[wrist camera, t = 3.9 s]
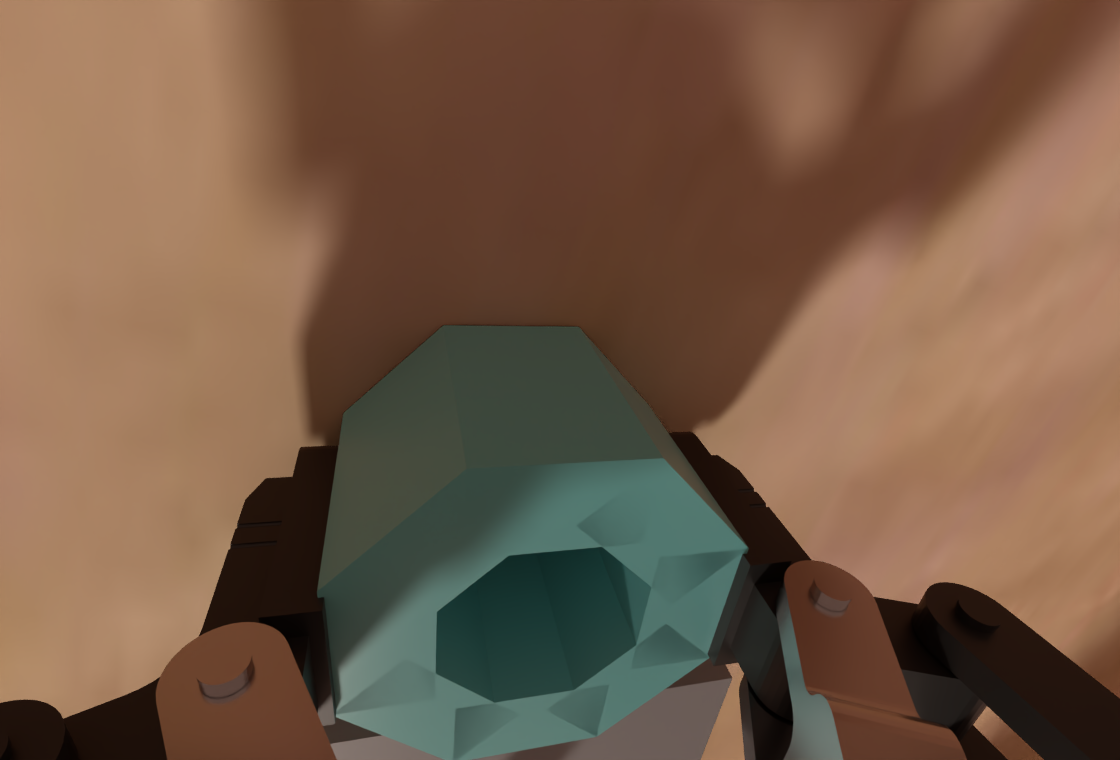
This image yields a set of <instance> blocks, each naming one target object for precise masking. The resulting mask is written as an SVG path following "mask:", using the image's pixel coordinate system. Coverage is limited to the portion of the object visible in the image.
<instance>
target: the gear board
mask: <svg viewBox="0 0 1120 760" xmlns="http://www.w3.org/2000/svg"><path fill="white" fill-rule="evenodd" d="M731 680H732V676H731V675H730V673H729V671H728V669H727V667H726V665H719V666H713V664H712V662H711V660H710V658H709V659H707V660H706V661H704V662H703V663H702V664H700V665H699V666H697V667H696V668H694V669H693V670H692V671H690V672H689V673H687V674H686V675H684V676H683V677H682V678H680V679H679V680H677V681H676V682H674V683H673V684H672V685H670V686H669V687H667V688H666V689H664V690H663V691H662V692H660V693H659V694H657V695H656V696H654V697H653V698H652V699H650V700H649V701H647V702H646V703H644V704H643V705H641V706H640V707H639V708H637V709H636V710H634V711H633V712H631V713H630V714H629V715H627V716H626V717H624V718H623V719H621V720H620V721H619V722H617V723H616V724H614V725H613V726H611V727H610V728H609V729H607V730H606V731H604V732H603V733H601V734H600V735H599V736H597V737H593V738H588V739H582V740H577V741H571V742H566V743H560V744H555V745H549V746H544V747H538V748H533V749H527V750H522V751H516V752H511V753H505V754H499V755H494V756H488V757H483V758H477V759H472V760H701V757H702V754H703V752H704V749H705V747H706V744H707V742H708V739H709V737H710V734H711V731H712V729H713V726H714V724H715V721H716V719H717V716H718V713H719V711H720V708H721V706H722V703H723V701H724V698H725V696H726V693H727V690H728V688H729V685H730V683H731ZM323 728H324V730H325V733H326V735H327V737H328V740H329V742H330V745H331V747H332V749H333V752H334V754H335V757H336V759H337V760H444V759H441V758H439V757H436V756H434V755H431V754H429V753H426V752H424V751H421V750H418V749H416V748H413V747H411V746H408V745H406V744H403V743H401V742H398V741H396V740H393V739H390V738H388V737H385V736H383V735H380V734H378V733H375V732H373V731H370V730H367V729H365V728H362V727H360V726H357V725H355V724H352V723H350V722H347V721H345V720H342V719H339V718H337V717H336V720H335V724H332V725H325V726H323Z"/></svg>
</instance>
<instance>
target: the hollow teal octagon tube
mask: <svg viewBox="0 0 1120 760" xmlns="http://www.w3.org/2000/svg"><path fill="white" fill-rule="evenodd" d="M748 549H749V548H748V546H747V545H746V544H745V542H744V541H743V539H742V538H741V536H740V535H739V534H738V532H737V531H736V529H735V528H734V526H733V525H732V523H731V522H730V521H729V519H728V518H727V516H726V515H725V513H724V512H723V511H722V509H721V508H720V506H719V505H718V503H717V502H716V501H715V499H714V498H713V496H712V495H711V493H710V492H709V491H708V489H707V488H706V486H705V485H704V483H703V482H702V481H701V479H700V478H699V476H698V475H697V473H696V472H695V471H694V469H693V468H692V466H691V465H690V463H689V462H688V461H687V459H686V458H685V456H684V455H683V453H682V452H681V450H680V449H679V448H678V446H677V445H676V443H675V442H674V440H673V439H672V438H671V436H670V435H669V433H668V432H667V430H666V429H665V428H664V426H663V425H662V423H661V422H660V420H659V419H658V418H657V416H656V415H655V413H654V412H653V410H652V409H651V408H650V406H649V405H648V404H647V402H646V401H645V400H644V399H643V398H642V397H641V396H640V395H639V394H638V392H637V391H636V390H635V389H634V388H633V387H632V386H631V385H630V383H629V382H628V381H627V380H626V379H625V378H624V377H623V376H622V375H621V373H620V372H619V371H618V370H617V369H616V368H615V367H614V366H613V364H612V363H611V362H610V361H609V360H608V359H607V358H606V357H605V355H604V354H603V353H602V352H601V351H600V350H599V349H598V348H597V347H596V345H595V344H594V343H593V342H592V341H591V340H590V339H589V338H588V336H587V335H586V334H585V333H584V332H583V331H582V330H581V329H580V328H579V327H564V326H462V325H443V326H442V327H441V328H440V329H439V330H437V331H436V332H435V333H434V334H433V335H432V336H431V337H429V338H428V339H427V340H426V341H425V342H424V343H423V344H422V345H420V346H419V347H418V348H417V349H416V350H415V351H414V352H412V353H411V354H410V355H409V356H408V357H407V358H406V359H404V360H403V361H402V362H401V363H400V364H399V365H398V366H396V367H395V368H394V369H393V370H392V371H391V372H390V373H388V374H387V375H386V376H385V377H384V378H383V379H382V380H380V381H379V382H378V383H377V384H376V385H375V386H374V387H373V388H371V389H370V390H369V391H368V392H367V393H366V394H365V395H363V396H362V397H361V398H360V399H359V400H358V401H357V402H355V403H354V404H353V405H352V406H351V407H350V408H349V409H347V410H346V411H345V412H344V413H343V419H342V426H341V433H340V439H339V446H338V453H337V460H336V466H335V473H334V480H333V487H332V494H331V500H330V507H329V514H328V521H327V527H326V534H325V541H324V548H323V554H322V561H321V568H320V575H319V581H318V588H317V597H318V598H321V597H324V600H325V609H326V618H327V628H328V637H329V646H330V655H331V664H332V674H333V683H334V692H335V701H336V717H337V718H339V719H342V720H345V721H347V722H350V723H352V724H355V725H357V726H360V727H362V728H365V729H367V730H370V731H373V732H375V733H378V734H380V735H383V736H385V737H388V738H390V739H393V740H396V741H398V742H401V743H403V744H406V745H408V746H411V747H413V748H416V749H418V750H421V751H424V752H426V753H429V754H431V755H434V756H436V757H439V758H441V759H444V760H472V759H477V758H483V757H488V756H494V755H499V754H505V753H511V752H516V751H522V750H527V749H533V748H538V747H544V746H549V745H555V744H560V743H566V742H571V741H577V740H582V739H588V738H593V737H597V736H599V735H600V734H601V733H603V732H604V731H606V730H607V729H609V728H610V727H611V726H613V725H614V724H616V723H617V722H619V721H620V720H621V719H623V718H624V717H626V716H627V715H629V714H630V713H631V712H633V711H634V710H636V709H637V708H639V707H640V706H641V705H643V704H644V703H646V702H647V701H649V700H650V699H652V698H653V697H654V696H656V695H657V694H659V693H660V692H662V691H663V690H664V689H666V688H667V687H669V686H670V685H672V684H673V683H674V682H676V681H677V680H679V679H680V678H682V677H683V676H684V675H686V674H687V673H689V672H690V671H692V670H693V669H694V668H696V667H697V666H699V665H700V664H702V663H703V662H704V661H706V660H707V659H709V656H708V651H709V648H710V645H711V642H712V640H713V637H714V634H715V631H716V628H717V625H718V622H719V620H720V617H721V614H722V611H723V608H724V605H725V602H726V600H727V597H728V594H729V591H730V588H731V585H732V582H733V580H734V577H735V574H736V571H737V568H738V565H739V562H740V560H741V557H742V554H746V553H747V552H748Z"/></svg>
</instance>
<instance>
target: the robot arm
mask: <svg viewBox="0 0 1120 760" xmlns="http://www.w3.org/2000/svg"><path fill="white" fill-rule="evenodd" d="M669 435H670V436H671V438H672V439H673V440H674V442H675V443H676V445H677V446H678V448H679V449H680V450H681V452H682V453H683V455H684V456H685V458H686V459H687V461H688V462H689V463H690V465H691V466H692V468H693V469H694V471H695V472H696V473H697V475H698V476H699V478H700V479H701V481H702V482H703V483H704V485H705V486H706V488H707V489H708V491H709V492H710V493H711V495H712V496H713V498H714V499H715V501H716V502H717V503H718V505H719V506H720V508H721V509H722V511H723V512H724V513H725V515H726V516H727V518H728V519H729V521H730V522H731V523H732V525H733V526H734V528H735V529H736V531H737V532H738V534H739V535H740V536H741V538H742V539H743V541H744V542H745V544H746V545H747V546H748V548H749V549H748V552H747V553H746V554H742V557H741V560H740V562H739V565H738V568H737V571H736V574H735V577H734V580H733V582H732V585H731V588H730V591H729V594H728V597H727V600H726V602H725V605H724V608H723V611H722V614H721V617H720V620H719V622H718V625H717V628H716V631H715V634H714V637H713V640H712V642H711V645H710V648H709V651H708V656H709V658H710V660H711V662H712V664H713V666H719V665H725V664H732V663H739V665H740V667H741V669H742V671H743V672H744V676H743V678H742V681H741V683H740V687H739V698H740V709H741V721H742V732H743V743H744V755H745V760H1007V759H1006V758H1005V757H1004V756H1003V755H1002V754H1001V753H1000V752H999V751H998V750H997V749H996V748H995V747H994V746H993V745H992V744H991V743H990V742H989V741H988V740H987V739H986V738H985V737H984V736H983V735H982V734H981V733H980V732H979V731H978V730H977V729H976V728H975V727H974V726H973V724H974V723H975V721H976V720H977V719H978V717H979V716H980V715H981V713H982V712H983V710H984V709H985V708H986V706H988V707H989V708H990V709H991V710H992V711H993V712H994V713H995V714H997V715H998V716H999V717H1000V718H1001V719H1002V720H1003V721H1004V722H1005V723H1006V724H1007V725H1008V726H1009V727H1010V728H1011V729H1012V730H1013V731H1014V732H1016V733H1017V734H1018V735H1019V736H1020V737H1021V738H1022V739H1023V740H1024V741H1025V742H1026V743H1027V744H1028V745H1029V746H1030V747H1031V748H1032V749H1033V750H1035V751H1036V752H1037V753H1038V754H1039V755H1040V756H1041V757H1042V758H1043V759H1044V760H1120V699H1119V698H1118V697H1117V696H1116V695H1114V694H1113V693H1112V692H1111V691H1109V690H1108V689H1107V688H1106V687H1104V686H1103V685H1102V684H1100V683H1099V682H1098V681H1097V680H1095V679H1094V678H1093V677H1092V676H1090V675H1089V674H1088V673H1087V672H1085V671H1084V670H1083V669H1082V668H1080V667H1079V666H1078V665H1076V664H1075V663H1074V662H1073V661H1071V660H1070V659H1069V658H1068V657H1066V656H1065V655H1064V654H1063V653H1061V652H1060V651H1059V650H1057V649H1056V648H1055V647H1054V646H1052V645H1051V644H1050V643H1049V642H1047V641H1046V640H1045V639H1044V638H1042V637H1041V636H1040V635H1039V634H1037V633H1036V632H1035V631H1033V630H1032V629H1031V628H1030V627H1028V626H1027V625H1026V624H1025V623H1023V622H1022V621H1021V620H1020V619H1018V618H1017V617H1016V616H1014V615H1013V614H1012V613H1011V612H1009V611H1008V610H1007V609H1006V608H1004V607H1003V606H1002V605H1000V604H999V603H998V602H996V601H995V600H993V599H991V598H990V597H988V596H987V595H985V594H983V593H981V592H979V591H977V590H974V589H972V588H969V587H966V586H963V585H960V584H955V583H947V582H944V583H936V584H933V585H931V586H930V587H929V588H928V589H927V591H926V592H925V594H924V596H923V598H922V599H921V601H920V603H919V604H913V603H907V602H901V601H895V600H889V599H883V598H877V597H873V596H872V594H871V593H870V591H869V590H868V589H867V588H866V587H865V586H864V585H863V584H862V583H861V582H860V581H859V580H858V579H856V578H855V577H854V576H852V575H851V574H849V573H848V572H846V571H844V570H842V569H840V568H838V567H836V566H834V565H831V564H828V563H825V562H821V561H814V560H811V559H810V558H809V556H808V555H807V554H806V553H805V551H804V550H803V549H802V548H801V547H800V545H799V544H798V543H797V542H796V540H795V539H794V538H793V537H792V535H791V534H790V533H789V532H788V530H787V529H786V528H785V527H784V525H783V524H782V523H781V522H780V520H779V519H778V518H777V517H776V515H775V514H774V513H773V512H772V510H771V509H770V508H769V507H766V503H765V502H764V500H763V499H762V498H761V497H760V495H759V494H758V493H757V492H754V488H753V487H752V485H751V484H750V483H749V482H748V480H747V479H746V478H745V477H744V476H743V474H742V473H741V472H740V471H739V470H738V469H737V468H735V467H734V466H732V465H731V464H730V463H728V462H727V461H725V460H724V459H722V458H721V457H720V456H718V455H711V454H710V453H709V452H708V450H707V449H706V448H705V446H704V445H703V444H702V443H701V441H700V440H699V439H698V437H697V436H696V435H695V434H694V433H693V432H673V433H669ZM337 453H338V446H314V447H301V448H300V449H299V453H298V457H297V461H296V465H295V469H294V473H293V477H282V478H266V479H265V480H264V481H263V482H262V483H261V484H260V485H259V486H258V487H257V488H256V489H255V490H254V491H253V492H252V493H251V494H250V495H249V497H248V498H247V499H246V500H245V502H244V505H243V508H242V511H241V514H240V517H239V520H238V523H237V529H235V532H234V535H233V538H232V541H231V544H230V545H231V548H230V550H228V553H227V556H226V559H225V562H224V565H223V568H222V571H221V574H220V577H219V580H218V583H217V586H216V589H215V592H214V595H213V598H212V601H211V604H210V607H209V610H208V613H207V616H206V619H205V622H204V625H203V628H202V630H201V633H200V635H199V637H197V638H196V639H194V640H192V641H191V642H190V643H188V644H187V645H186V646H185V647H183V648H182V649H181V650H180V651H179V652H178V653H177V654H176V655H175V656H174V657H173V658H172V659H171V661H170V662H169V663H168V664H167V666H166V667H165V669H164V671H163V672H162V674H161V676H160V677H159V678H158V679H156V680H155V681H153V682H152V683H150V684H148V685H146V686H144V687H142V688H140V689H138V690H136V691H134V692H131V693H129V694H127V695H124V696H122V697H119V698H117V699H114V700H111V701H109V702H106V703H103V704H101V705H98V706H96V707H93V708H90V709H88V710H85V711H82V712H80V713H77V714H74V715H72V716H69V717H67V718H64V719H63V718H62V716H61V714H60V713H59V712H58V711H57V709H56V708H54V707H53V706H51V705H49V704H48V703H44V702H41V701H37V700H13V701H8V702H3V703H0V760H337V759H336V757H335V754H334V752H333V749H332V747H331V745H330V742H329V740H328V737H327V735H326V733H325V730H324V728H323V726H325V725H332V724H335V720H336V701H335V692H334V683H333V674H332V664H331V655H330V646H329V637H328V628H327V618H326V609H325V600H324V597H321V598H318V597H317V588H318V581H319V575H320V568H321V561H322V554H323V548H324V541H325V534H326V527H327V521H328V514H329V507H330V500H331V494H332V487H333V480H334V473H335V466H336V460H337Z"/></svg>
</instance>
